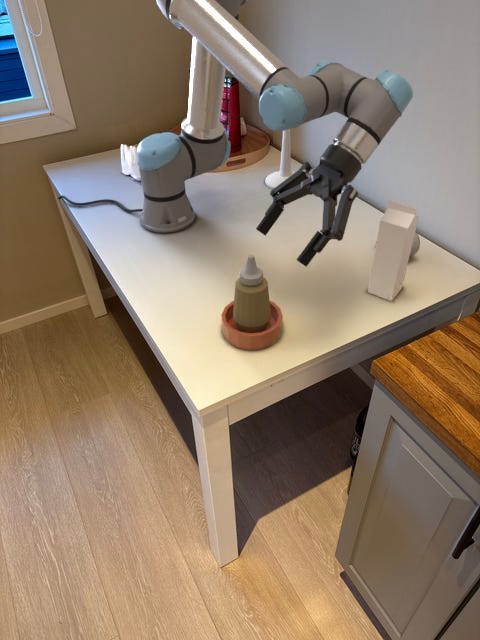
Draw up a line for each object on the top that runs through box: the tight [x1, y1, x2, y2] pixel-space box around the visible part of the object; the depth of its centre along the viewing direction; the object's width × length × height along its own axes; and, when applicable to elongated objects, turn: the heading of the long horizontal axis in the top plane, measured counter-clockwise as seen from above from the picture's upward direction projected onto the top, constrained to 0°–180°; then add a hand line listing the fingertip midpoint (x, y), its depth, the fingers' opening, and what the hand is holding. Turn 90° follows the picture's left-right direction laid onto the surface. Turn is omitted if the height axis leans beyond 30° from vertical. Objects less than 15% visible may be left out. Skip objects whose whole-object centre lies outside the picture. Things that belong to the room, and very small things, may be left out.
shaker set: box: [120, 143, 141, 182], centre depth 160 cm, size 12×4×11 cm, turn 39°
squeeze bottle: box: [233, 254, 271, 333], centre depth 98 cm, size 8×8×18 cm
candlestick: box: [264, 129, 296, 190], centre depth 148 cm, size 13×13×30 cm
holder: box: [220, 300, 284, 351], centre depth 103 cm, size 13×13×4 cm
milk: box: [367, 200, 420, 302], centre depth 106 cm, size 6×6×22 cm
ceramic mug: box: [375, 230, 421, 258], centre depth 122 cm, size 11×8×8 cm
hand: (279, 247), depth 95 cm, fingers open, 13 cm apart
